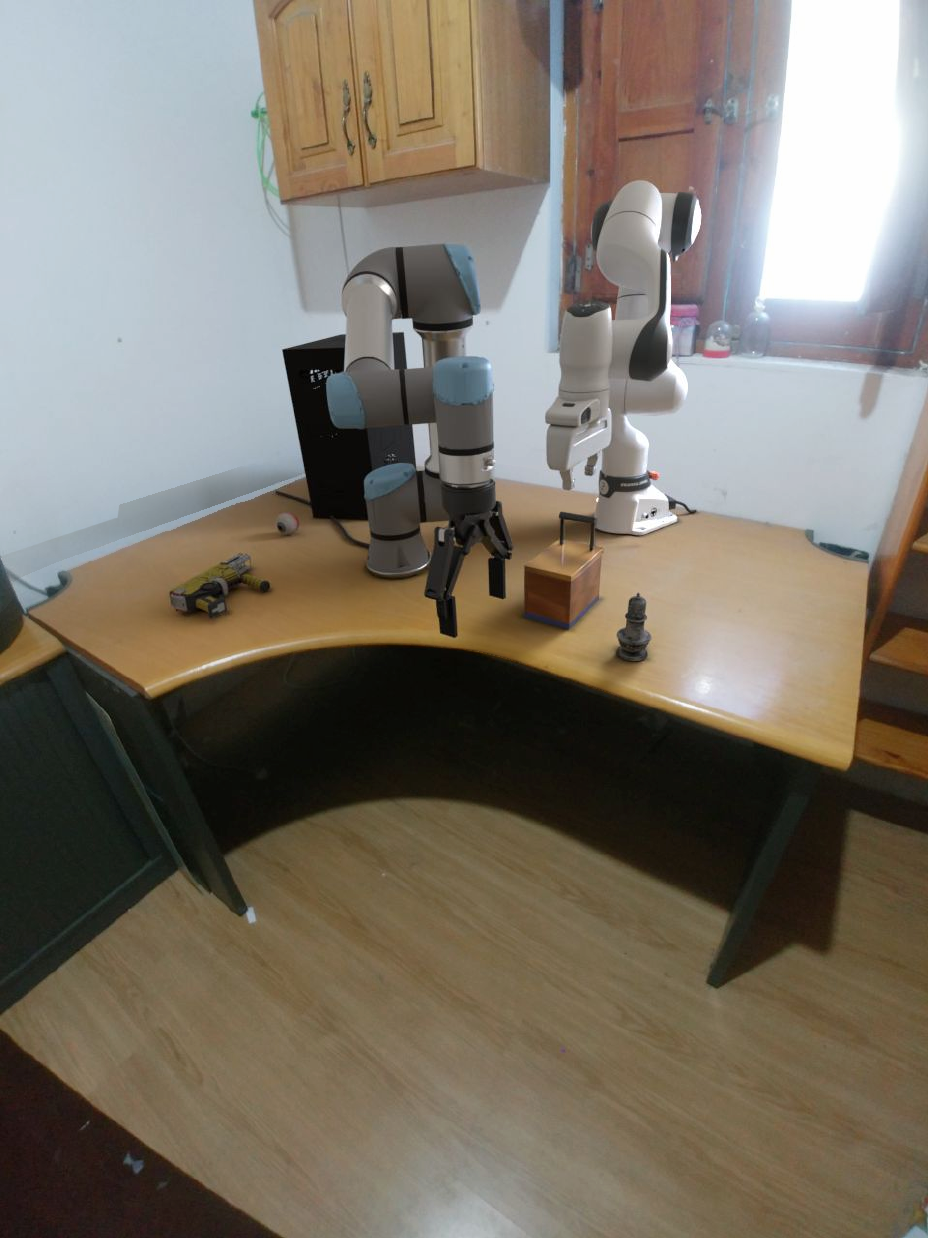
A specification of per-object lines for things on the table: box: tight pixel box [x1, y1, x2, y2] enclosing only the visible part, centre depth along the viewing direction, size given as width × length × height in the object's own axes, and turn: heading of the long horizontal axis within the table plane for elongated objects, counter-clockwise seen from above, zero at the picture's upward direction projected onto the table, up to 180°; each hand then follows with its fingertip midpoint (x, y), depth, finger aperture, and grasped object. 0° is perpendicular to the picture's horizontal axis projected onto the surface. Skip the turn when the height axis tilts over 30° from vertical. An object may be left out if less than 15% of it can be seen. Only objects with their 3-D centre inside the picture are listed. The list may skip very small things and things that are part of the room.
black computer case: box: [281, 331, 418, 520], centre depth 178 cm, size 38×20×45 cm, turn 167°
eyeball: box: [275, 511, 300, 536], centre depth 163 cm, size 6×6×6 cm
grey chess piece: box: [616, 592, 652, 662], centre depth 103 cm, size 6×6×12 cm
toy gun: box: [168, 552, 271, 619], centre depth 134 cm, size 5×24×15 cm
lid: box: [523, 511, 605, 582], centre depth 115 cm, size 15×10×8 cm, turn 145°
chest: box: [523, 554, 603, 630], centre depth 120 cm, size 14×10×10 cm
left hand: (474, 614), depth 93 cm, fingers open, 13 cm apart
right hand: (579, 481), depth 114 cm, fingers open, 8 cm apart
